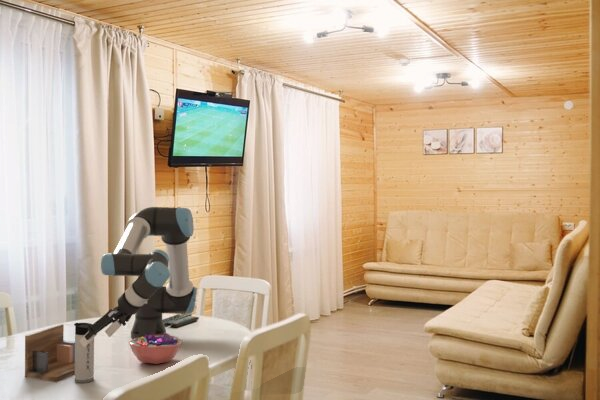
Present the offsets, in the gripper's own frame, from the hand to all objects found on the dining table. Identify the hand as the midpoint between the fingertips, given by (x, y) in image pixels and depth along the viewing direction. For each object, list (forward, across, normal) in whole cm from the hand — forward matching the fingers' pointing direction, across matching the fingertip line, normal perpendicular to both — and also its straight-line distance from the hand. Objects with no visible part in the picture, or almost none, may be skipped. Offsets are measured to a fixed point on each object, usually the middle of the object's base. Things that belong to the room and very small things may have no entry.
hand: (95, 338), depth 211 cm
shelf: (+24, +5, +3) cm, 25 cm away
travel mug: (+15, +1, -7) cm, 17 cm away
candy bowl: (+7, +29, -15) cm, 33 cm away
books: (+26, +13, +6) cm, 29 cm away
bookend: (+26, -2, +6) cm, 26 cm away
